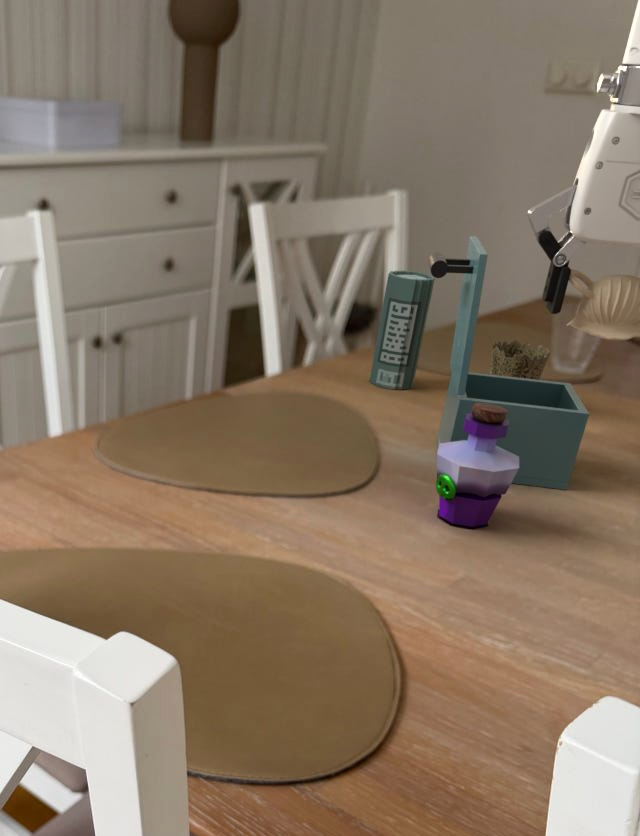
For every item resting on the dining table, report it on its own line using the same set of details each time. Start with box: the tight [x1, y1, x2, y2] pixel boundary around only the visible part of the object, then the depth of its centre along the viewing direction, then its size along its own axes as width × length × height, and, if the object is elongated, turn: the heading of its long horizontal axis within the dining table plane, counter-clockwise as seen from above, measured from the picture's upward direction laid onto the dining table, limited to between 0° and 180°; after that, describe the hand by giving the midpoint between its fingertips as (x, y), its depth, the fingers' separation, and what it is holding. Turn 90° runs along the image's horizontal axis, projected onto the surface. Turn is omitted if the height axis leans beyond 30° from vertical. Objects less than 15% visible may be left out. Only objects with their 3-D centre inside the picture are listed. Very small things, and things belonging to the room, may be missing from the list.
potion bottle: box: [435, 403, 519, 530], centre depth 99 cm, size 9×9×12 cm
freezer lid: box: [427, 235, 489, 395], centre depth 109 cm, size 15×12×5 cm
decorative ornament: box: [566, 269, 640, 341], centre depth 88 cm, size 4×8×5 cm, turn 77°
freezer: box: [436, 371, 590, 491], centre depth 114 cm, size 14×12×9 cm
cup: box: [489, 339, 551, 380], centre depth 135 cm, size 8×7×8 cm
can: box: [368, 269, 436, 391], centre depth 138 cm, size 6×6×15 cm
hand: (601, 314), depth 88 cm, fingers closed on decorative ornament, 8 cm apart
